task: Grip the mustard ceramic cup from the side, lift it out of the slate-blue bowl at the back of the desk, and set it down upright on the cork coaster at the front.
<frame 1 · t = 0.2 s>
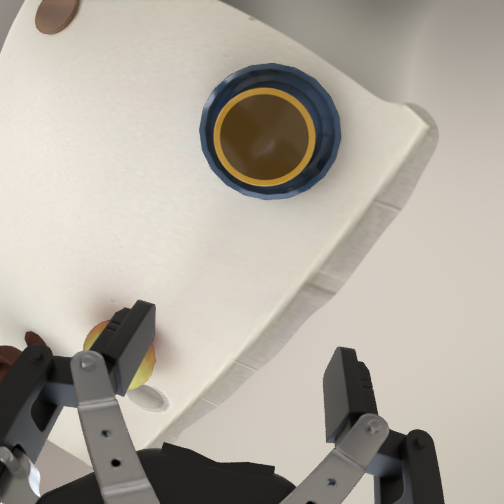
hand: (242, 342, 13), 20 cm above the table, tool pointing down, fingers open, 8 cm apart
cup: (271, 129, 28), point 1 cm above the table, touching bowl
coaster: (58, 10, 23), on the table
bowl: (271, 129, 28), on the table
apple: (130, 336, 41), on the table
ice cream bowl: (37, 342, 45), on the table
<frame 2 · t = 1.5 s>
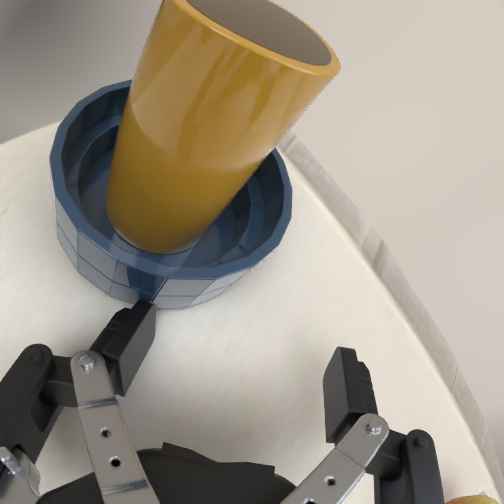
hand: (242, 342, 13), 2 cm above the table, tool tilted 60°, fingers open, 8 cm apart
cup: (159, 203, 16), point 1 cm above the table, touching bowl
bowl: (156, 208, 17), on the table
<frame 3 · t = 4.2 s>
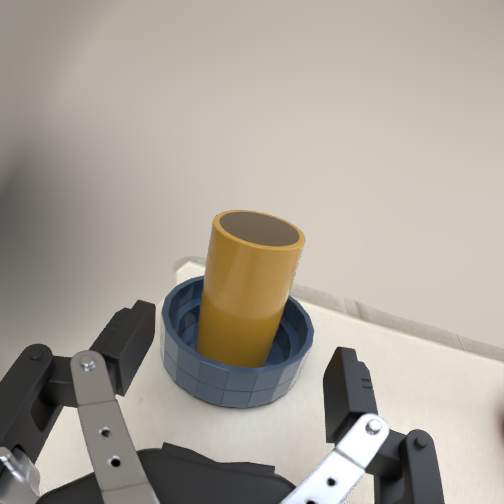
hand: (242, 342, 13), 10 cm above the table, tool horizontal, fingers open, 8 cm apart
cup: (231, 351, 25), point 1 cm above the table, touching bowl
bowl: (230, 356, 25), on the table
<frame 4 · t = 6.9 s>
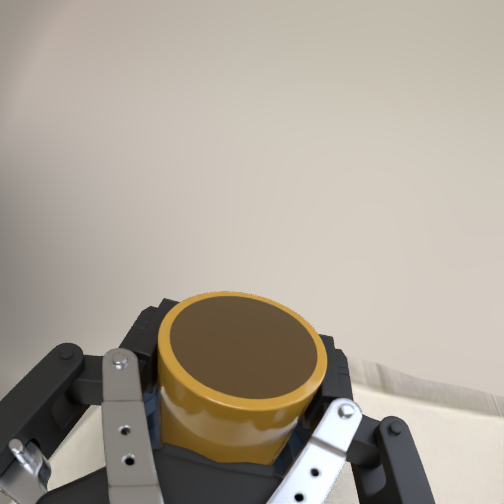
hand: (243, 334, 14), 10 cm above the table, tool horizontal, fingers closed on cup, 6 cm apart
cup: (210, 467, 16), point 1 cm above the table, touching bowl, gripper
bowl: (210, 470, 16), on the table
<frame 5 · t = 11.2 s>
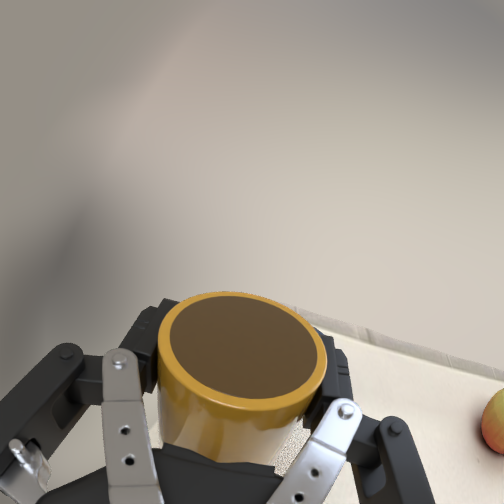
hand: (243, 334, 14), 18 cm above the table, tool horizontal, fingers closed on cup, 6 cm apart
cup: (211, 467, 16), point 9 cm above the table, touching gripper
apple: (494, 438, 27), on the table
when the fingers open (10 cm above the table, at t = 15.5 s): cup stays where it is, resting on coaster.
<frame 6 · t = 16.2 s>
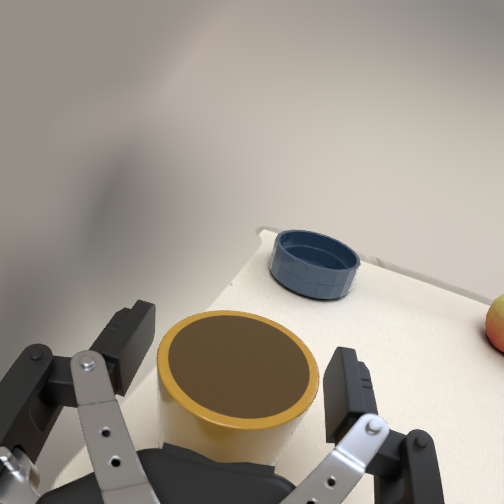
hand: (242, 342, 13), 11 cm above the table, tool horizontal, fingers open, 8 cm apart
cup: (210, 473, 16), point 1 cm above the table, touching coaster
bowl: (309, 278, 43), on the table
apple: (499, 345, 35), on the table
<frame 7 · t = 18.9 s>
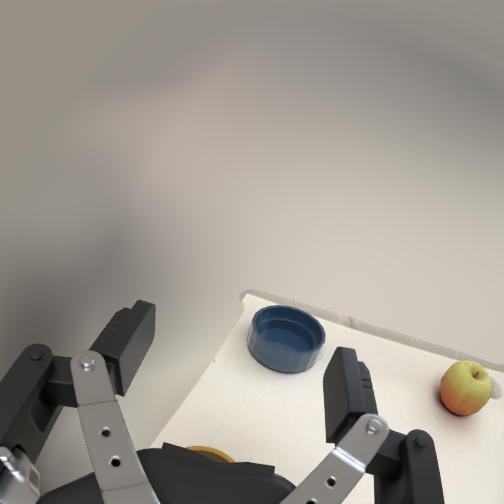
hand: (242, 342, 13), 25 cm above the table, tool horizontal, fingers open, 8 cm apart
bowl: (282, 348, 49), on the table
apple: (453, 403, 41), on the table
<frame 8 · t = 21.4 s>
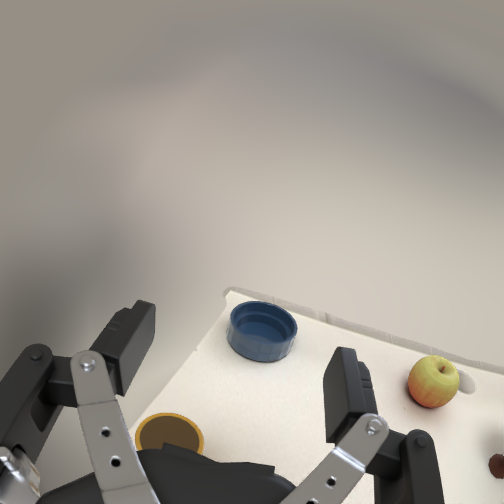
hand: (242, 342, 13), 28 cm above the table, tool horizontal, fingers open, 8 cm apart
cup: (170, 480, 28), point 1 cm above the table, touching coaster
bowl: (258, 340, 55), on the table
apple: (422, 396, 47), on the table
ice cream bowl: (497, 467, 31), on the table
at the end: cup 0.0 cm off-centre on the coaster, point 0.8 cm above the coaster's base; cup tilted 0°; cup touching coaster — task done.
